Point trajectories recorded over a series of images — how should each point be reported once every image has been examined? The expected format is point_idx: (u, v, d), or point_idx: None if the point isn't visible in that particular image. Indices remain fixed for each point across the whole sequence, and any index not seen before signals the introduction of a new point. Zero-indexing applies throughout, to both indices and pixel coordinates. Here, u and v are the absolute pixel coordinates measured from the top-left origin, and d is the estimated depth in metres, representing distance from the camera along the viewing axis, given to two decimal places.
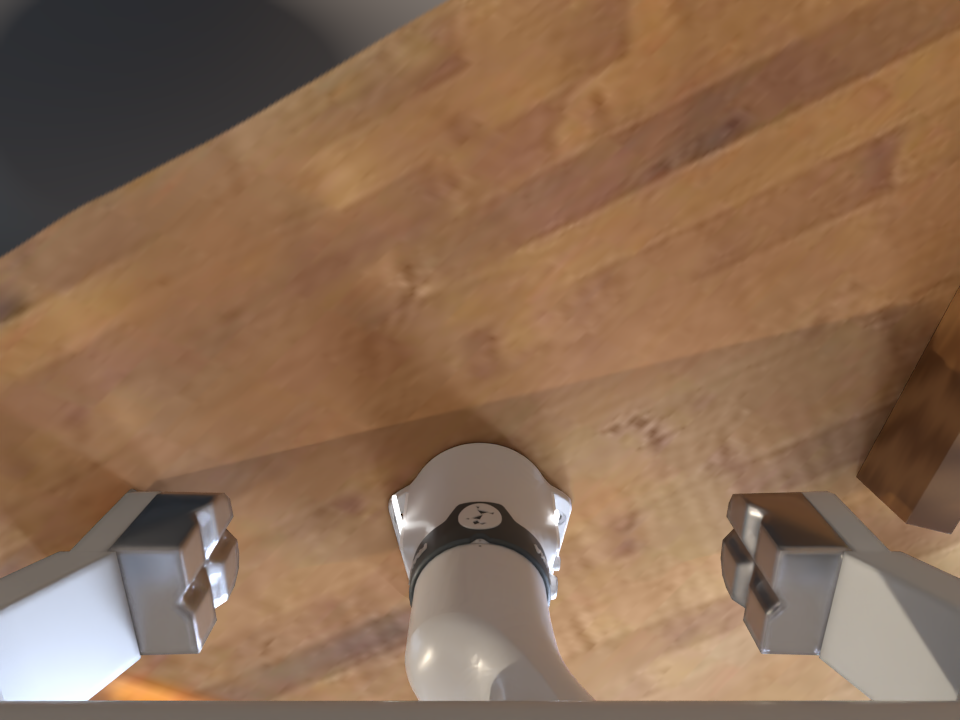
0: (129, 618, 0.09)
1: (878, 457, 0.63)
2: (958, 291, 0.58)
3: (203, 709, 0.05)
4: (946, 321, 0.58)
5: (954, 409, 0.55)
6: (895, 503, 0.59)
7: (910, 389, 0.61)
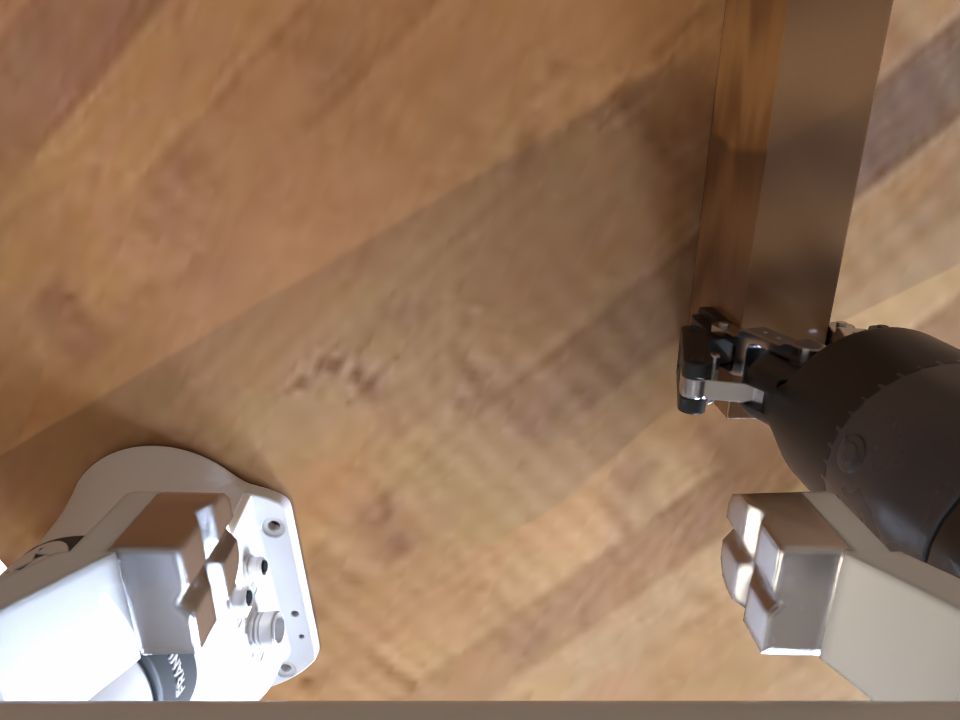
0: (129, 618, 0.09)
1: None
2: (724, 26, 0.35)
3: (204, 708, 0.05)
4: (720, 80, 0.36)
5: (743, 211, 0.33)
6: None
7: (706, 207, 0.38)
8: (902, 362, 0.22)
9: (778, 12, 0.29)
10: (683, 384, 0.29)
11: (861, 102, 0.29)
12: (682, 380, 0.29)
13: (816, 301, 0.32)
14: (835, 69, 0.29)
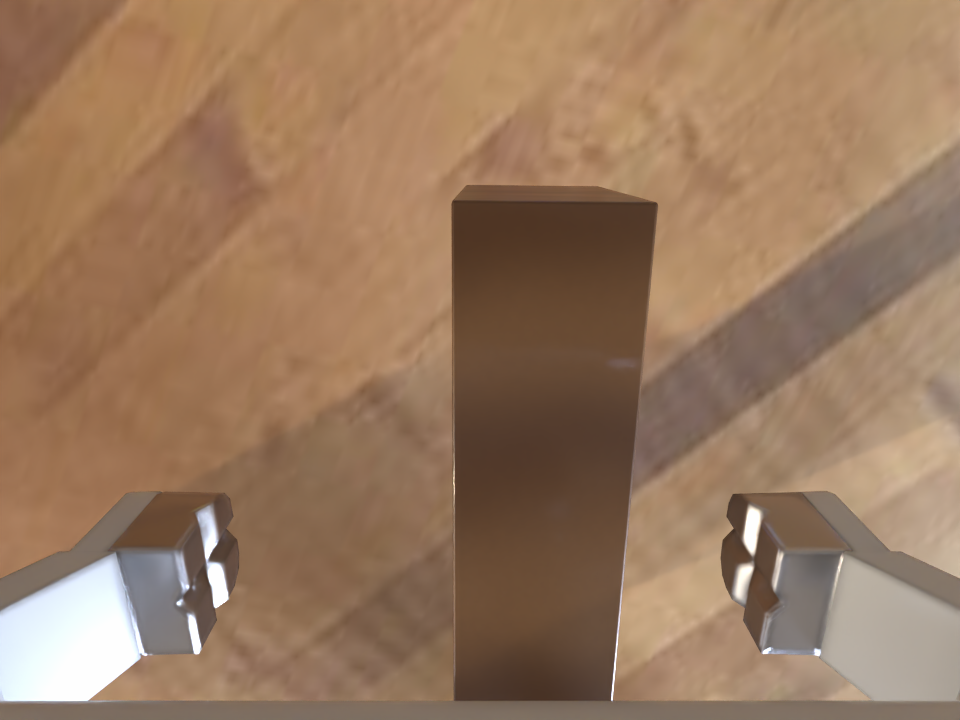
0: (129, 618, 0.09)
1: None
2: None
3: (203, 708, 0.05)
4: None
5: None
6: None
7: None
8: None
9: None
10: None
11: (598, 642, 0.18)
12: None
13: None
14: (547, 600, 0.17)
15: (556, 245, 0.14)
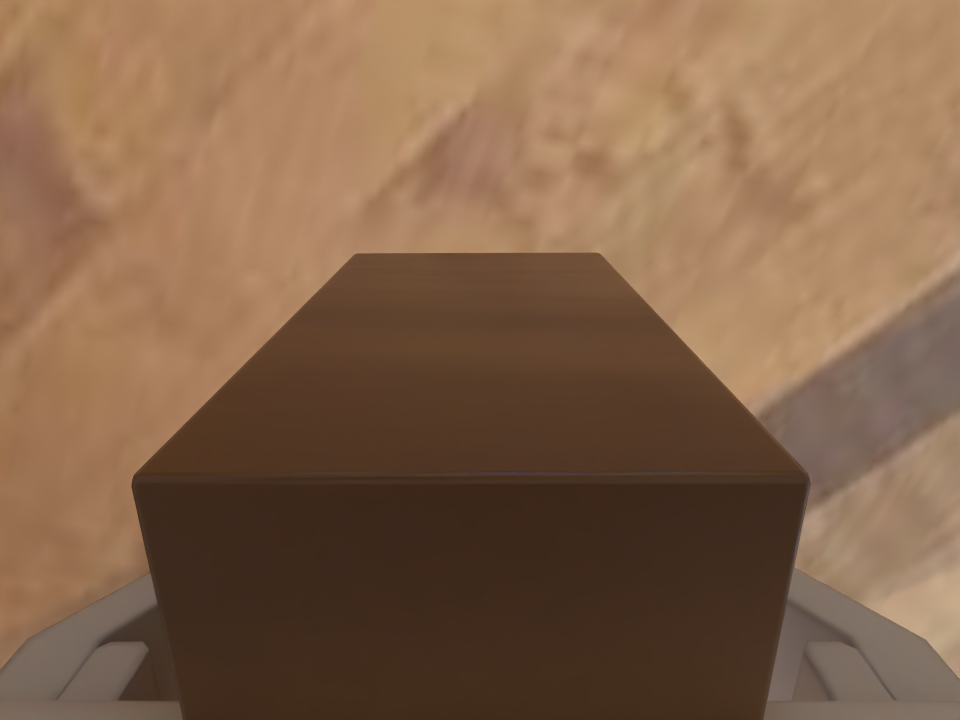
0: None
1: None
2: None
3: None
4: None
5: None
6: None
7: None
8: None
9: None
10: None
11: None
12: None
13: None
14: None
15: (482, 595, 0.05)
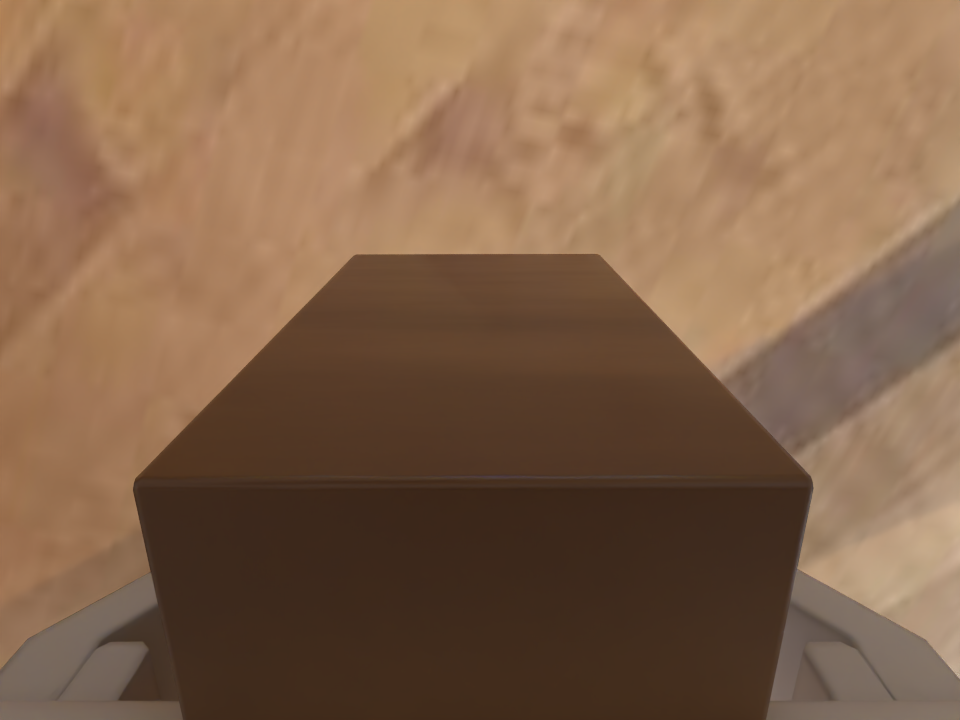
0: None
1: None
2: None
3: None
4: None
5: None
6: None
7: None
8: None
9: None
10: None
11: None
12: None
13: None
14: None
15: (485, 599, 0.05)
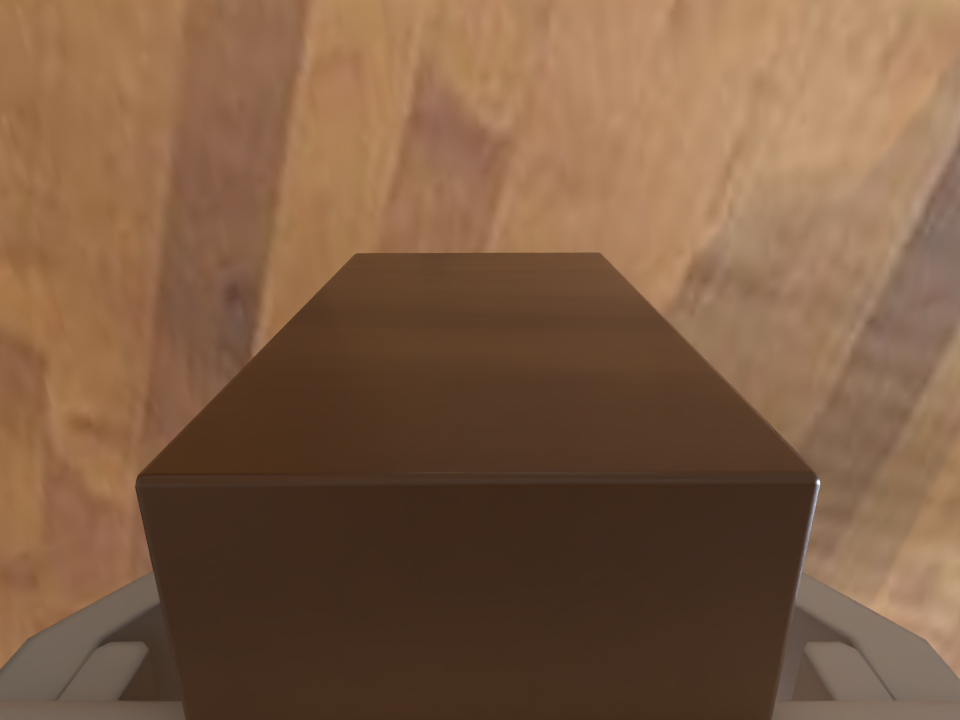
0: None
1: None
2: None
3: None
4: None
5: None
6: None
7: None
8: None
9: None
10: None
11: None
12: None
13: None
14: None
15: (491, 596, 0.05)
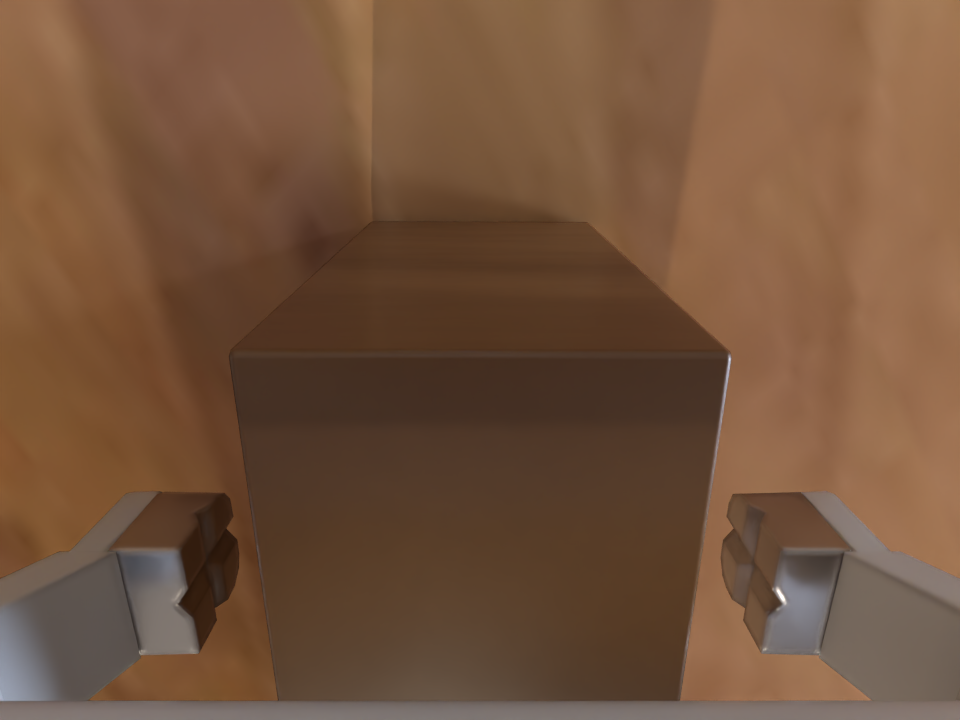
0: (129, 618, 0.09)
1: None
2: None
3: (204, 709, 0.05)
4: None
5: None
6: None
7: None
8: None
9: None
10: None
11: None
12: None
13: None
14: None
15: (489, 447, 0.06)
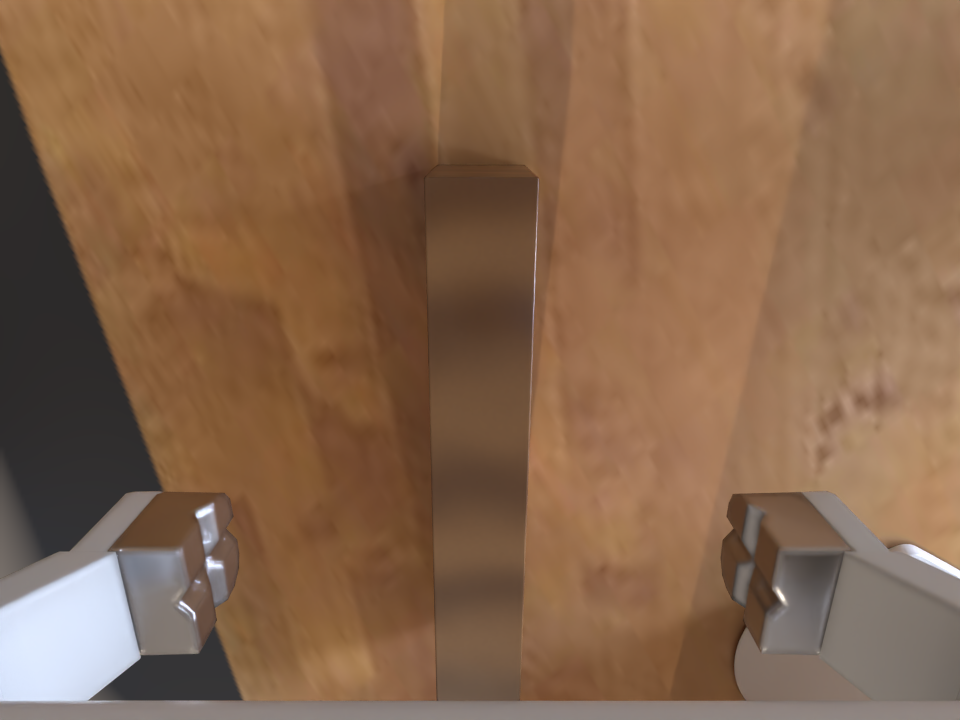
0: (129, 618, 0.09)
1: None
2: None
3: (203, 708, 0.05)
4: None
5: None
6: None
7: None
8: None
9: None
10: None
11: (517, 444, 0.29)
12: None
13: (505, 607, 0.33)
14: (486, 417, 0.29)
15: (483, 202, 0.26)
